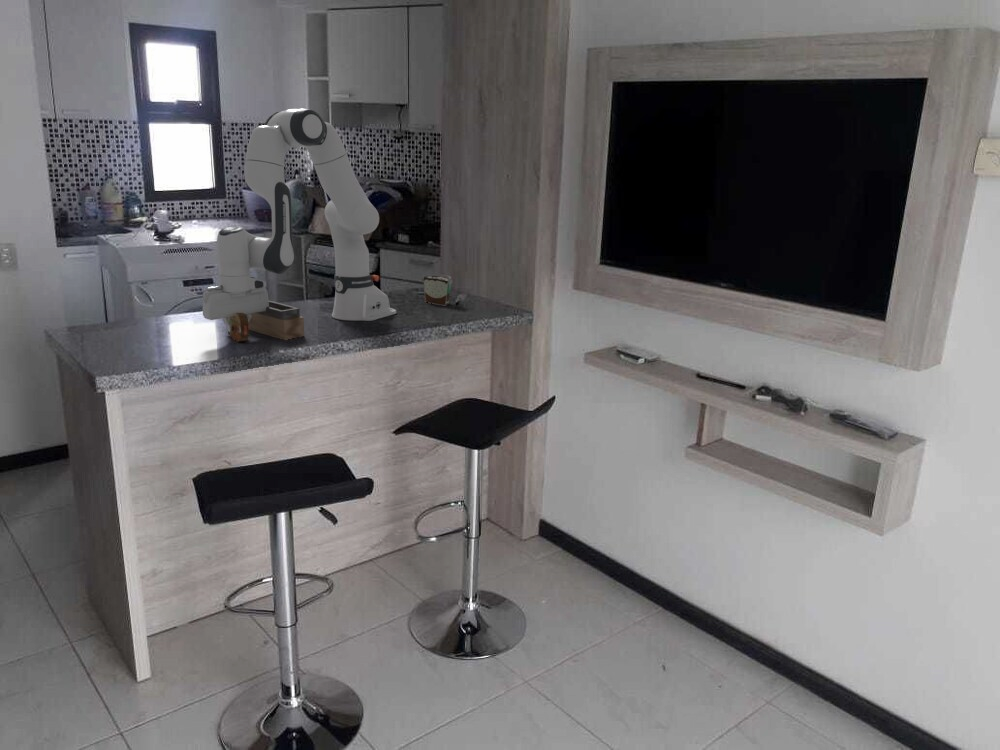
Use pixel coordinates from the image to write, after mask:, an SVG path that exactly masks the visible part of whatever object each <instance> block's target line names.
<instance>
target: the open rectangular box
mask: <svg viewBox="0 0 1000 750" xmlns="http://www.w3.org/2000/svg"><path fill="white" fill-rule="evenodd" d="M300 313H301V312H300V308H299V307H295V306H292V305H288V304H284V303H280V302H278V301H277V302H276V301H272V300H269V307H266V311H263V312H257V313H251V315H252V317H251V319H250V321H249V328H248V330H249V329H250V330H249V331H253V332H256V333H259V334H263V335H265V336H269V337H273V338H275V337H276V339H278V338H280V339H279V340H282V339H283V340H282V341H289V340H288V339H290V340H293V339H292V338H295V339H298V338H297V337H299V338H303V337H302V336H304V337H305V324H304V323H305V322H304V321H305V320H304V317H303V316H301V315H300Z"/></svg>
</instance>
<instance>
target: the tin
mask: <svg viewBox="0 0 1000 750" xmlns="http://www.w3.org/2000/svg"><path fill="white" fill-rule="evenodd" d="M236 314H237V315H236V316H233V317H230V318H231V320H230V321H229V322H230V324H231V325H234V331H232V332H228V331H227V330H226V332H227V334H228V336H229V335H230V336H231V337H232V338H231V337H230V336H229V337H230V338H231V339H233V340H234V341H235V340H236V341H235V342H237V343H241V342H246V341H247V340H248V339H249V334H250V333H249V329H248V326H249V323H248V318H247V316H246V314H244V313H236Z"/></svg>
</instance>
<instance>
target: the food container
mask: <svg viewBox="0 0 1000 750" xmlns="http://www.w3.org/2000/svg"><path fill="white" fill-rule="evenodd" d="M421 278H422V279H421V281H422V282H423V293H424V302H428V303H427V304H431V303H432V304H433V305H436V306H444V307H447V306H449V301H450V293H451V285H452V284H453V279H452V277H451V276H450V275H447V274H446V275H445V274H424V275H422V277H421Z"/></svg>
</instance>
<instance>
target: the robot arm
mask: <svg viewBox="0 0 1000 750" xmlns="http://www.w3.org/2000/svg"><path fill="white" fill-rule="evenodd" d="M301 147H304V148H305V149H306V150H307V152H308V153H309V156H310V159H311V162H312V164H313V167H314V169H315V173H316V175H317V178H318V180H319V184H320V186H321V188H322V189H323V191H325V193H326V194H327V195H328V197H329V198H330V200H329V201H328V202H327V204H326V205H325V207H324V218H325V220H326V221H327V224H328V227H329V231H330V236H331V239H332V243H333V244H332V245H333V249H334V263H335V264H334V265H335V274H334V276H333V277H334V281H333V283H334V290H335V293H334V294H335V295H334V302H333V309H332V313H331V317H332V318H333V319H336V320H341V321H368V322H371V321H372V322H373V321H376V320H379V319H382V318H386V317H389V316H393V315H396V314H397V310H396V309H394V308H392V307H390V299H389V296H388V295H387V294H386V293H384V292H383V291H382V290H380V289H379V288H378V287H377V286H376V285H374V281H375V282H379V280H380V277H379V275H376V274H372V275H371V274H370V252H369V248H368V246H367V244H366V241H365V237H364V235H368V234H372V233H373V232H374V231H375V230H376V229H377V228H378V226H379V223H380V214H379V212H378V210H377V209H376V207H375V206H374V204H372V203H371V201H370V200H369V198H368V196H367V194H366V192H365V191H364V189H363V187H362V185H361V184H360V183H359V180H358V179H357V177H356V174H355V172H354V169H353V167H352V164H351V161H350V158H349V156H348V153H347V151H346V148H345V146H344V143H343V142H342V139H341V137H340V135H339V133H338V132H337V130H336V128H335V127H334V125H332V124H331V123H330V122H327V121H324V120H323V118H322V117H321V115H320V114H319V113H318V112H316V110H313V109H310V108H305V107H302V108H289V109H286V110H282V111H277V112H275V113H272V114H271V115H269V116H268V117H267V119H266V120H265V122H264V124H263V125H259V126H256V127H255V128H254V129H252V131H251V133H250V137H249V141H248V144H247V148H246V153H245V154H246V155H245V161H244V170H243V174H244V175H243V176H244V181H245V183H246V184H247V186H248V187H249V189H251V191H253V192H254V193H255V194H257V195H258V196H259V197H261V198H263V199H264V200H266V202H267V203H268V204H269V207H270V210H271V237H262V236H258V235H257V236H256V235H254V234H252V233H249V232H248V231H247V230H246V229H245V228H244V227H242V226H236V225H235V226H228V227H224V228H222V229H221V230H219V231H218V233H217V238H216V259H217V262H218V267H219V269H218V272H217V275H218V285H216V286H209V287H207V288H206V289H204V290H203V291H202V301H203V302H202V316H203V318H204V319H206V320H209V321H214V320H219V319H220V320H222V322H223V323H224V325H225V326H226V332H227V331H228V332H232V331H234V325H231V324H230V322H229V321H230V320H231V318H230V317H233V316H236V315H237V314H236V313H244V314H246V316H247V318H248V323H249V321H250V319H251V317H252V315H251V313H257V312H263V311H266V307H269V301H270V299H269V293H268V290H267V289H266V287H267V281H265V280H263V279H259V278H256V277H253V276H251V271H250V269H255V270H259V271H266V272H270V273H274V274H278V275H281V274H283V273H284V274H285V273H286V272H287V271H289V269H291V267H292V266H293V264H294V262H295V258H296V257H295V256H296V255H295V248H294V241H293V219H292V217H293V215H292V214H293V212H292V196H291V190H290V188H289V187H288V185H287V184H286V181H285V172H284V171H285V161H286V160H285V159H286V154H287V151H288V150H289V149H295V148H296V149H297V148H301ZM248 328H249V326H248ZM228 332H227V333H228Z"/></svg>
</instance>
